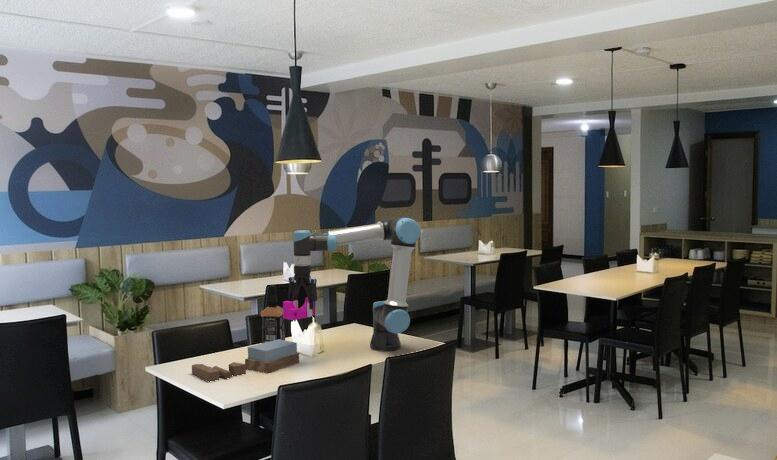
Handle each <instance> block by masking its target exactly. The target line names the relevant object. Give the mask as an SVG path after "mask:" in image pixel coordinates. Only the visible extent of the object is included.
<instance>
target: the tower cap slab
mask: <svg viewBox="0 0 777 460" xmlns="http://www.w3.org/2000/svg"><path fill="white" fill-rule="evenodd" d="M297 345H298V343H297V342H296V341H295V342H294V341H289V340H286V339H285V340H280V339H278V340H274V341H270V342H266V343H262V342H261V343H258V344H255V345H250V346H247V358H250V359H254V360H258V361H262V362H269V361H273V360H276V359H280V358H283V357H287V356H291V355H294V354H297V353H298V349H297V348H298V346H297Z"/></svg>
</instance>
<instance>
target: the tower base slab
mask: <svg viewBox="0 0 777 460" xmlns="http://www.w3.org/2000/svg"><path fill="white" fill-rule="evenodd" d="M299 363H300V352H297V354H294V355H291V356H287V357H283V358H280V359H276V360H273V361H269V362H262V361H258V360H254V359H250V358H248V357H247V358H246V359H244V364H246V370H247V369H248V370H247V371H252V370H253V372H258V371H259V373H263V372H264V373H265V374H269V373H270V374H272V373H275V372H278V371H281V370H283V369H286V368H288V367H291V366H294V365H296V364H299Z"/></svg>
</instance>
